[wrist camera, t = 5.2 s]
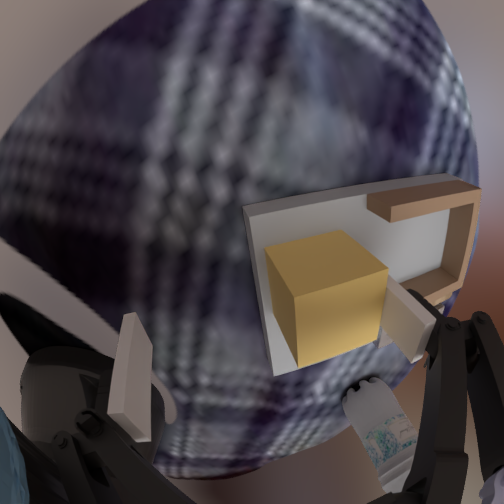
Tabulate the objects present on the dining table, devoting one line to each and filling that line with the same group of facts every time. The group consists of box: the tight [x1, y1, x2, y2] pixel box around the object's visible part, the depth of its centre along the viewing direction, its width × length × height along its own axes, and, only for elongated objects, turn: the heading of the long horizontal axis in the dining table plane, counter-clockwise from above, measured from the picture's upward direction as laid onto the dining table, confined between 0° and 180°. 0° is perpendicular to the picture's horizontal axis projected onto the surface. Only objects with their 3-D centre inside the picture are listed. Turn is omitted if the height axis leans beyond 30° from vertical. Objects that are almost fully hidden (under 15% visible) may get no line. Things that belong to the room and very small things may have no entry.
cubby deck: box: [242, 173, 482, 376], centre depth 19 cm, size 18×14×4 cm
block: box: [264, 230, 389, 368], centre depth 16 cm, size 5×5×5 cm
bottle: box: [342, 377, 418, 493], centre depth 22 cm, size 7×7×20 cm
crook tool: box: [372, 303, 445, 349], centre depth 22 cm, size 8×4×2 cm, turn 98°
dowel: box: [431, 292, 452, 306], centre depth 21 cm, size 5×2×2 cm, turn 98°
